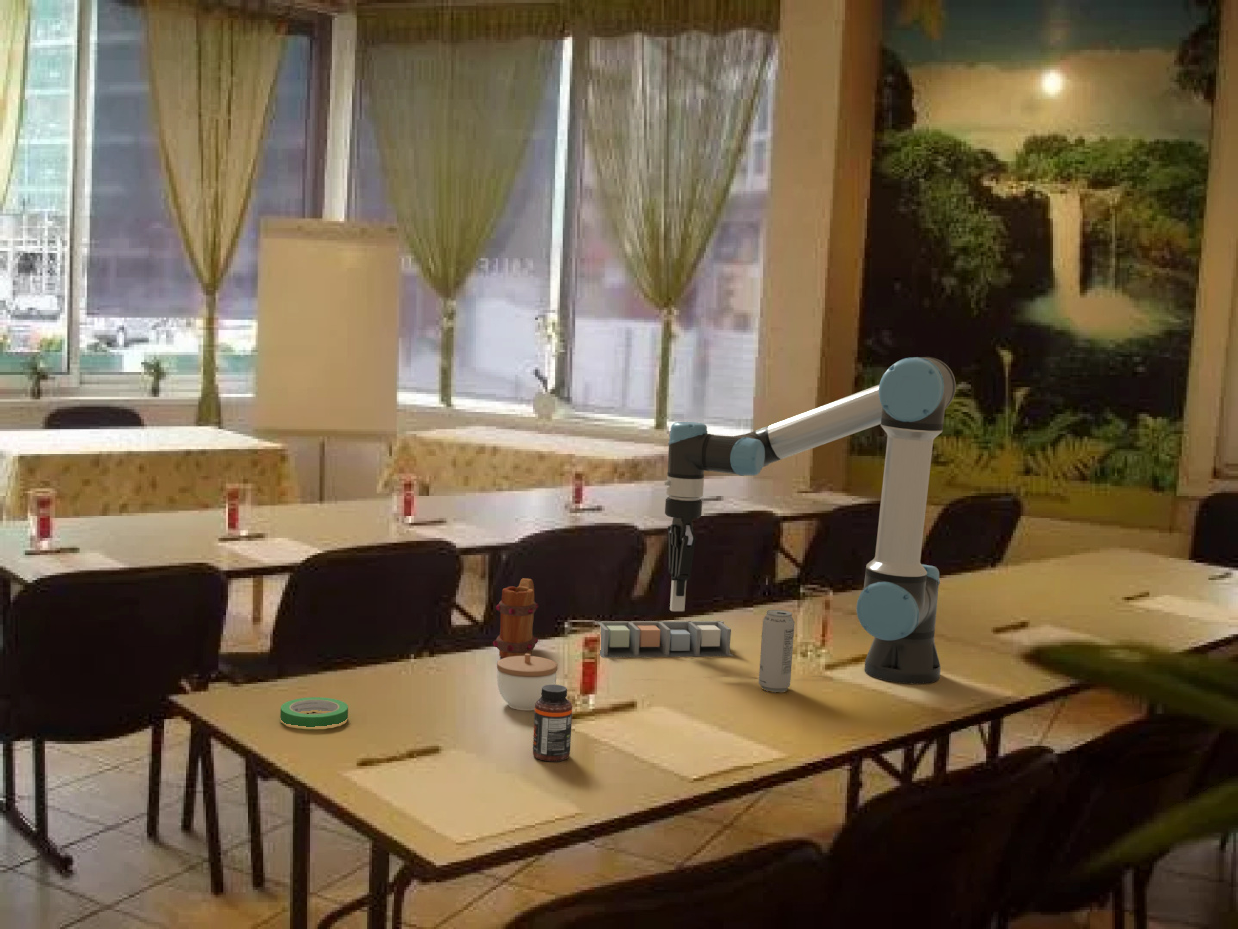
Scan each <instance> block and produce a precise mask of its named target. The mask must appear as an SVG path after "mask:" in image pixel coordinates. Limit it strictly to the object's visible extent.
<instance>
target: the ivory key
mask: <svg viewBox="0 0 1238 929" xmlns="http://www.w3.org/2000/svg"><path fill="white" fill-rule="evenodd" d="M697 627H699V628H700V629H701V638H700V646H720V634H721V630H720V629H719V628H718V627H716V626H715V625H697Z"/></svg>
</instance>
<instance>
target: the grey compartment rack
mask: <svg viewBox="0 0 1238 929" xmlns="http://www.w3.org/2000/svg"><path fill="white" fill-rule="evenodd" d="M594 622H597V623H598V624H599V625H600V626H601V650H600V655H599V656H600V657H601V658H679V657H680V658H681V657H682V658H683V657H684V658H687V657H691V658H692V657H703V658H704V657H735V655H734V654H732V653H731V652H730V650H731V636H732V628H730V627H728V626H727V625H726V624H724V622H725V621H723V620H675V621H673V620H667V621H666V620H659V621H658V620H655V621H654V620H653V621H652V620H645V621H644V620H642V621H641V620H639V621H638V620H636V621H634V620H631V621H630V620H629V621H627V620H626V621H623V620H621V621H620V620H619V621H616V620H615V621H611V620H610V621H609V620H607V621H605V620H604V621H603V620H602V621H601V620H600V621H599V620H598V621H597V620H596V621H593V623H594ZM651 625H655V626H656V627H658V628H659V629H660V646H659V647H640V646H639V637H640V629H639V628H637V626H651ZM697 625H715V626H716V627H718V628H719V629H720V630H721V634H720V646H700V638H701V629H700V628H699V627H697ZM606 626H626V627H627V628H628V629H629V630H630V636H629V647H609V646H608V636H609V630H608V629H607V628H606ZM671 629H685V630H686V631H687V632H689V633H690V634H691V635H690V651H671V650H669V649H670V632H671Z"/></svg>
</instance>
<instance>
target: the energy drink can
mask: <svg viewBox="0 0 1238 929" xmlns="http://www.w3.org/2000/svg"><path fill="white" fill-rule="evenodd" d="M792 615H793V613H792V612H791V611H788V610H785V609H784V610H782V609H769V610H766V614H765V616H764V618H763V619H762V627H761V628H762V630H761V642H760V644H761V645H760V655H759V656H760V657H759V658H760V661H759V673H758V675H759V676H758V684H759V685H760V688H761V687H762V688H763V689H765V690H767V691H766V692H768V691H773V692H772V693H776V692H780V693H785V692H787V691H788V688H790V686H791V681H792V680H791V678H792V664H793V648H794V637H795V636H794V635H795V620H794V618H793V616H792ZM765 690H764V691H765ZM784 691H785V692H784Z"/></svg>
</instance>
